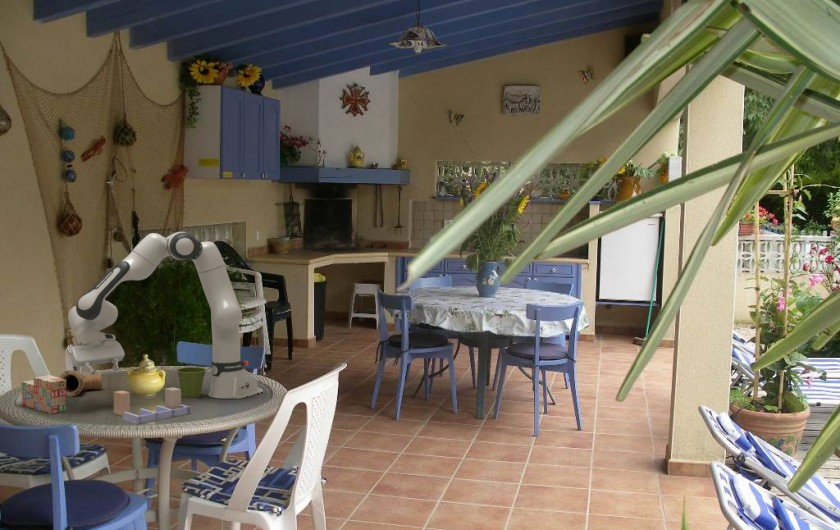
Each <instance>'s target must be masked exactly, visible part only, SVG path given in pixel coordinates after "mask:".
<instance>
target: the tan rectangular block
mask: <svg viewBox="0 0 840 530" xmlns="http://www.w3.org/2000/svg"><path fill="white" fill-rule="evenodd" d="M130 402H131V392H129V391H125V390H124V389H123V390H118V391H117V390H116V391H113V414H115V415H118V416H122V417H123V412H129V413H131V403H130Z"/></svg>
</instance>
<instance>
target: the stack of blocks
mask: <svg viewBox="0 0 840 530" xmlns="http://www.w3.org/2000/svg"><path fill="white" fill-rule="evenodd" d="M21 396H22V397H21V398H22V403H21V404H22V406H24V405H25V406H24V407H27V406H28V407H27V408H30V407H31V409H33V408H35V409H34V410H36V409H39V410H38V411H40V410H42V411H41V412H43V411H46V412H48V413H47V414H49V413H55V414H58V413H57V412H60V413H63V412H62V411H65V412H67V396H66V380H65V379H62V378H59V376H54V375H50V374H47V375H42V376H35V377H33V379H31V380H25V381H21ZM46 412H45V413H46Z"/></svg>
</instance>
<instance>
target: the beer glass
mask: <svg viewBox="0 0 840 530" xmlns="http://www.w3.org/2000/svg"><path fill="white" fill-rule="evenodd" d="M64 358H65V359H64V360H65V368H66V371H69V370H73V371H77V372H79V373H81V374H82V367H83V366H81V367H74V366H73V365H72V363H71V359H70V354H69V353H68V351H67V348H65V356H64Z"/></svg>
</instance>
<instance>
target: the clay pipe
mask: <svg viewBox="0 0 840 530" xmlns="http://www.w3.org/2000/svg"><path fill="white" fill-rule="evenodd" d="M58 377H59V378H62V379H65V380H66V398H72V397H76V396H77V395H79V394H80V393H81V392H82V391H83V390H95V391H99V390H100V389H102V387H103V374H102V373H101V372H100V373H95V374H82V372H81V373H79V372H77V371H73V370H69V371H67V370H66V371H64V372H62V373H60V375H59V376H58Z"/></svg>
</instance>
